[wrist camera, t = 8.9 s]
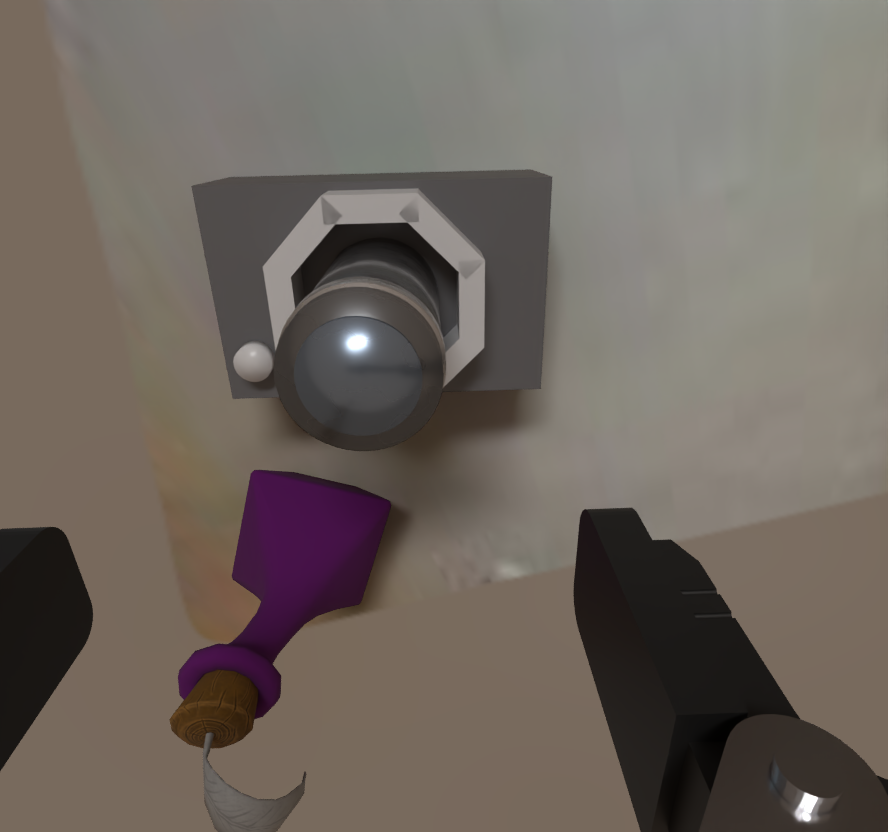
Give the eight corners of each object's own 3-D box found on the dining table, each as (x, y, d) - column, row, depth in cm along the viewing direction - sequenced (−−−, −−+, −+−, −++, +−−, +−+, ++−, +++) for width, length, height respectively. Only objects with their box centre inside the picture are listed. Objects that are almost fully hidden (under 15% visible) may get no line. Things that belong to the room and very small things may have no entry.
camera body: (531, 169, 27) (563, 180, 21) (523, 352, 31) (549, 407, 25) (229, 177, 27) (171, 190, 21) (260, 360, 31) (219, 418, 25)
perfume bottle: (246, 543, 36) (103, 874, 20) (266, 440, 33) (117, 733, 17) (365, 568, 37) (320, 901, 21) (394, 470, 34) (370, 773, 18)
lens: (438, 232, 24) (444, 288, 15) (442, 350, 26) (449, 453, 18) (314, 237, 24) (254, 294, 15) (329, 354, 26) (283, 459, 18)
